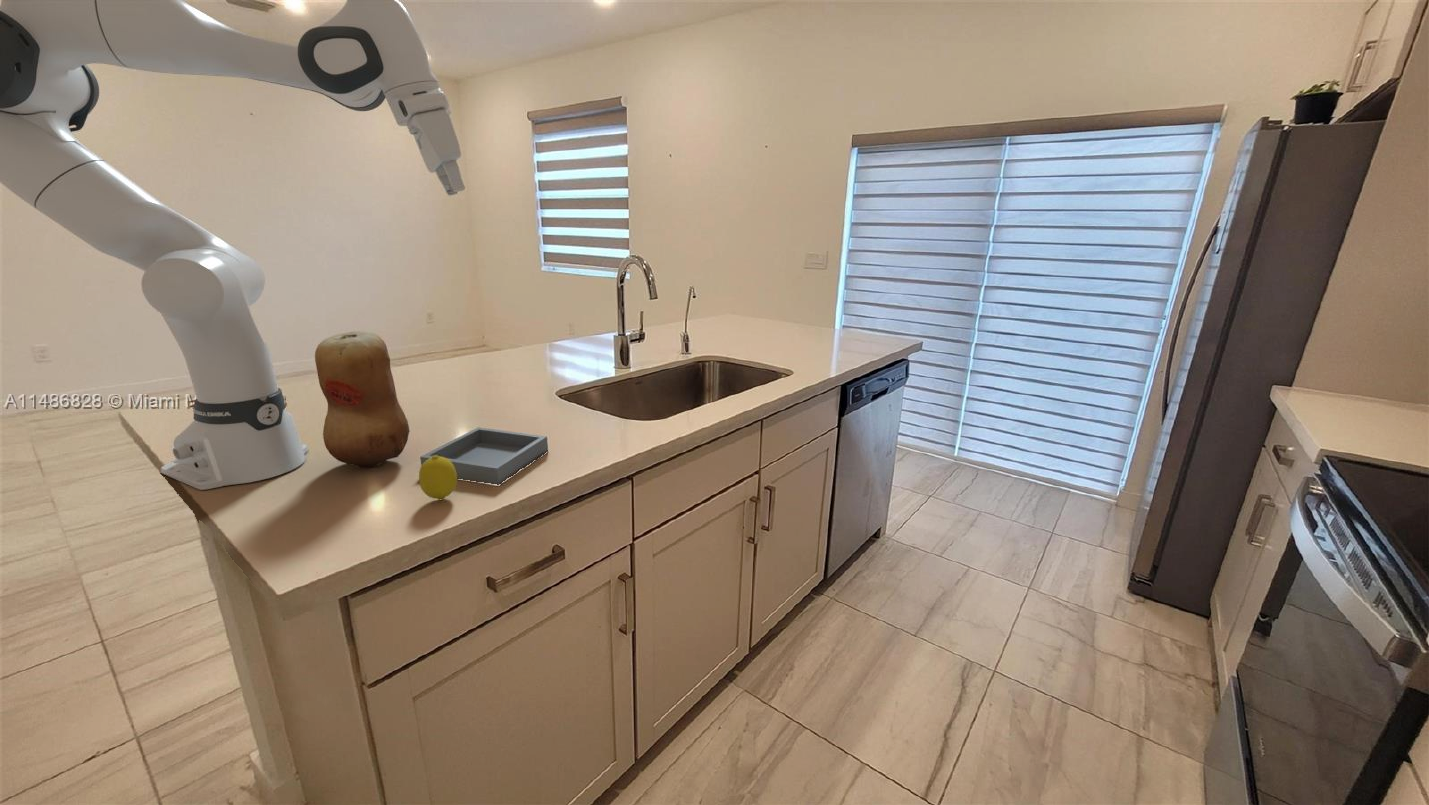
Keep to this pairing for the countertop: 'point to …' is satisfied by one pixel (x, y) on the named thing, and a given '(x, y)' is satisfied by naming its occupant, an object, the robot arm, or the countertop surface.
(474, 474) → the tray
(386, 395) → the butternut squash
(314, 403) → the countertop surface
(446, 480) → the lemon
